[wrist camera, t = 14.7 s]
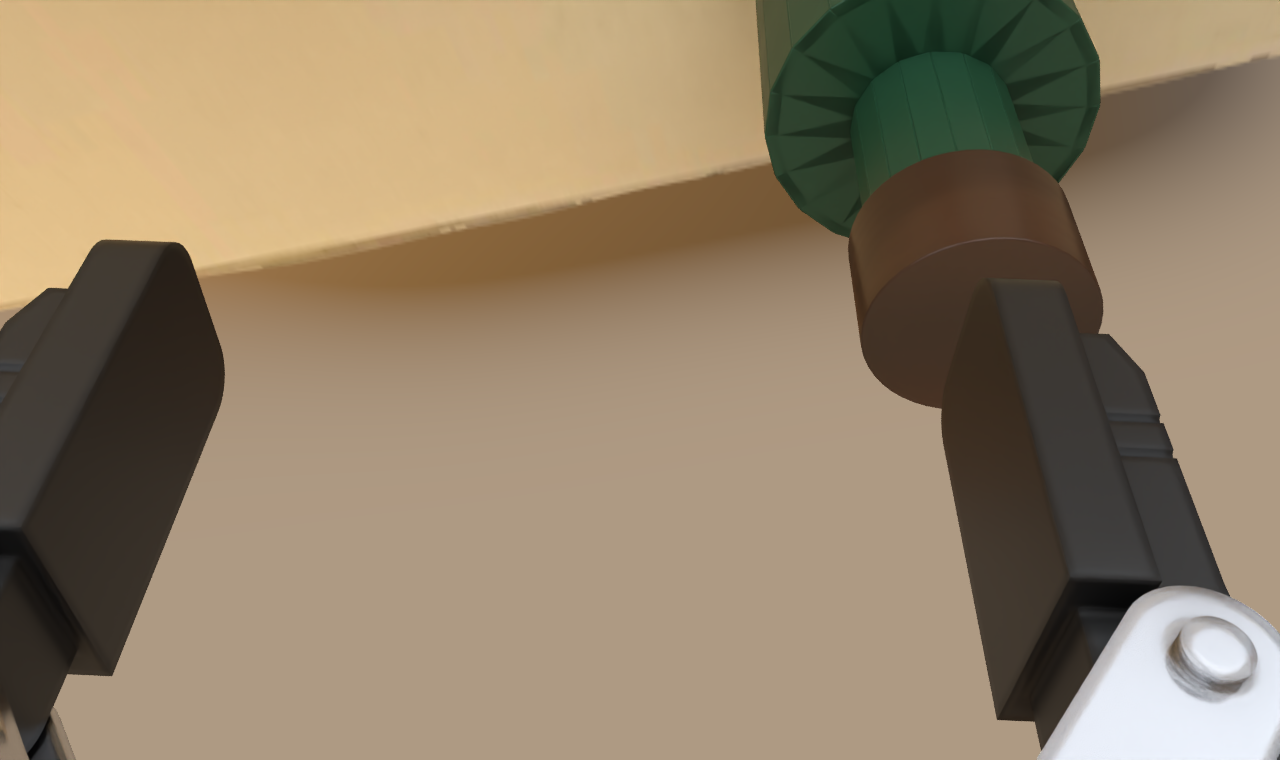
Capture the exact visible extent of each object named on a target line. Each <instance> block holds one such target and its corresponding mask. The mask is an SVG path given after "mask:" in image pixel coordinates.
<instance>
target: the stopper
mask: <svg viewBox="0 0 1280 760" xmlns="http://www.w3.org/2000/svg"><path fill="white" fill-rule="evenodd" d="M848 252H849V263H850V269H851V277H852V284H853V292H854V299H855V306H856V312H857V320H858V326H859V334H860V342H861V348H862V352H863V356H864V359H865V361H866V363H867V365H868V367H869V369H870V370H871V371H872V373H873V374H874V376H875V377H876V378H877V379H878V380H879V381H880V382H881V383H882V384H883V385H884V386H886V387H887V388H888V389H889V390H891V391H892V392H894V393H896V394H897V395H899V396H901V397H903V398H906V399H908V400H910V401H912V402H915V403H919V404H922V405H925V406H930V407H935V408H941V409H942V400H943V392H944V387H945V383H946V379H947V376H948V372H949V369H950V366H951V363H952V359H953V356H954V353H955V350H956V346H957V343H958V340H959V337H960V333H961V330H962V327H963V324H964V321H965V317H966V314H967V311H968V308H969V304H970V301H971V298H972V295H973V292H974V289H975V287H976V285H977V283H978V282H979V280H981V279H982V278H1003V279H1027V280H1052V281H1058V282H1059V283H1061V284H1062V286H1063V287H1064V289H1065V292H1066V294H1067V297H1068V300H1069V303H1070V306H1071V309H1072V312H1073V315H1074V318H1075V321H1076V324H1077V327H1078V330H1079V333H1091V334H1098V332H1099V329H1100V326H1101V323H1102V316H1103V299H1102V295H1101V290H1100V287H1099V285H1098V282H1097V279H1096V277H1095V274H1094V271H1093V269H1092V266H1091V263H1090V260H1089V258H1088V255H1087V252H1086V249H1085V247H1084V244H1083V241H1082V238H1081V236H1080V233H1079V230H1078V227H1077V225H1076V222H1075V220H1074V217H1073V214H1072V211H1071V208H1070V206H1069V203H1068V200H1067V198H1066V196H1065V194H1064V192H1063V190H1062V188H1061V187H1060V186H1059V184H1058V183H1057V181H1056V180H1055V179H1054V178H1053V177H1052V176H1051V175H1050V174H1049V173H1048V172H1047V171H1045V170H1044V169H1043V168H1041V167H1040V166H1038V165H1037V164H1035V163H1033V162H1031V161H1029V160H1027V159H1025V158H1022V157H1020V156H1017V155H1014V154H1010V153H1006V152H1001V151H995V150H985V149H975V150H961V151H952V152H948V153H944V154H939V155H936V156H933V157H930V158H927V159H924V160H921V161H919V162H917V163H915V164H912V165H910V166H908V167H906V168H905V169H903V170H901V171H900V172H898V173H896V174H895V175H893V176H892V177H891V178H889V179H888V180H887V181H885V182H884V183H883V184H882V185H881V186H880V187H879V188H877V189H876V190H875V191H874V192H873V193H872V195H871V196H870V197H869V198H868V199H867V201H866V202H865V203H864V205H863V206H862V208H861V209H860V211H859V213H858V214H857V216H856V219H855V221H854V223H853V225H852V229H851V233H850V236H849V245H848Z"/></svg>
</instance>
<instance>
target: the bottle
mask: <svg viewBox="0 0 1280 760" xmlns="http://www.w3.org/2000/svg"><path fill="white" fill-rule="evenodd" d="M756 13H757V27H758V42H759V57H760V72H761V87H762V102H763V117H764V132H765V140H766V143H767V147H768V151H769V155H770V159H771V162H772V166H773V170H774V174H775V176H776V178H777V179H778V181H779V182H780V183H781V185H782V186H783V188H784V189H785V190H786V192H787V193H788V195H789V196H790V197H791V199H792V200H793V201H794V203H795V204H796V205H797V207H798V208H799V209H800V210H801V211H802V212H804V213H805V214H807V215H809V216H810V217H811V218H813V219H814V220H816V221H817V222H819V223H820V224H821V225H823V226H825V227H826V228H827V229H829V230H830V231H832V232H834V233H835V234H838V235H842V236H845V237H848V238H849V236H850V233H851V229H852V225H853V223H854V221H855V219H856V216H857V214H858V213H859V211H860V209H861V208H862V206H863V205H864V203H865V202H866V201H867V199H868V198H869V197H870V196H871V195H872V193H873V192H874V191H875V190H876V189H877V188H879V187H880V186H881V185H882V184H883V183H884V182H885V181H887V180H888V179H889V178H891V177H892V176H893V175H895V174H896V173H898V172H900V171H901V170H903V169H905V168H906V167H908V166H910V165H912V164H915V163H917V162H919V161H921V160H924V159H927V158H930V157H933V156H936V155H939V154H944V153H948V152H952V151H961V150H975V149H985V150H995V151H1001V152H1006V153H1010V154H1014V155H1017V156H1020V157H1022V158H1025V159H1027V160H1029V161H1031V162H1033V163H1035V164H1037V165H1038V166H1040V167H1041V168H1043V169H1044V170H1045V171H1047V172H1048V173H1049V174H1050V175H1051V176H1052V177H1053V178H1054V179H1055V180H1056V181H1057V183H1059V182H1060V181H1061V179H1062V178H1063V177H1064V175H1065V174H1066V173H1067V171H1068V170H1069V169H1070V168H1071V166H1072V165H1073V164H1074V162H1075V161H1076V160H1077V158H1078V157H1079V156H1080V154H1081V153H1082V152H1083V150H1084V148H1085V146H1086V143H1087V141H1088V138H1089V135H1090V132H1091V129H1092V127H1093V124H1094V121H1095V118H1096V116H1097V113H1098V110H1099V107H1100V60H1099V56H1098V54H1097V52H1096V49H1095V47H1094V45H1093V43H1092V41H1091V38H1090V36H1089V34H1088V32H1087V30H1086V27H1085V25H1084V23H1083V21H1082V18H1081V16H1080V14H1079V12H1078V10H1077V8H1076V6H1075V3H1074V1H1073V0H756Z"/></svg>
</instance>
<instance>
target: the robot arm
mask: <svg viewBox="0 0 1280 760" xmlns="http://www.w3.org/2000/svg"><path fill="white" fill-rule="evenodd" d="M224 371H225V370H224V359H223V353H222V349H221V346H220V343H219V340H218V337H217V334H216V331H215V328H214V325H213V322H212V319H211V316H210V313H209V311H208V308H207V305H206V302H205V299H204V296H203V293H202V290H201V287H200V284H199V281H198V278H197V275H196V272H195V269H194V266H193V263H192V260H191V258H190V256H189V254H188V252H187V250H186V249H185V248H184V246H183V245H181V244H180V243H176V242H154V241H130V240H101V241H99V242H97V243H96V244H95V245H94V246H93V248H92V249H91V251H90V252H89V254H88V255H87V257H86V259H85V261H84V262H83V264H82V266H81V267H80V269H79V271H78V273H77V274H76V276H75V278H74V279H73V281H72V283H71V285H70V286H69V288H68V289H62V288H47V289H46V290H45V291H44V292H43V293H41V294H40V295H39V296H38V297H36V298H35V299H34V300H33V301H31V302H30V303H29V304H28V305H26V306H25V307H24V308H23V309H22V310H20V311H19V312H18V313H17V314H15V315H14V316H13V317H12V318H10V319H9V320H8V321H7V322H6V323H5V324H4V326H3V328H2V329H1V331H0V760H76V759H75V756H74V753H73V751H72V748H71V745H70V743H69V740H68V737H67V735H66V732H65V730H64V727H63V725H62V722H61V719H60V717H59V715H58V713H57V711H56V710H55V708H54V707H53V706H54V703H55V701H56V699H57V696H58V694H59V692H60V689H61V687H62V685H63V683H64V680H65V678H66V675H67V674H78V675H98V676H99V675H100V676H112V675H113V672H114V670H115V667H116V665H117V662H118V660H119V657H120V655H121V652H122V650H123V647H124V645H125V642H126V640H127V637H128V635H129V632H130V630H131V627H132V625H133V623H134V620H135V617H136V615H137V612H138V610H139V607H140V605H141V603H142V600H143V597H144V595H145V593H146V590H147V587H148V585H149V582H150V580H151V578H152V575H153V573H154V570H155V568H156V565H157V562H158V560H159V558H160V555H161V553H162V550H163V548H164V545H165V543H166V540H167V538H168V535H169V533H170V530H171V528H172V525H173V523H174V520H175V518H176V515H177V513H178V510H179V508H180V505H181V503H182V500H183V498H184V495H185V493H186V490H187V488H188V485H189V483H190V480H191V478H192V476H193V473H194V470H195V468H196V465H197V463H198V460H199V458H200V456H201V453H202V451H203V448H204V446H205V443H206V441H207V438H208V436H209V433H210V431H211V428H212V426H213V423H214V421H215V418H216V416H217V413H218V411H219V407H220V405H221V401H222V396H223V391H224V378H225V377H224V376H225V372H224ZM941 415H942V416H941V417H942V418H941V419H942V420H941V422H942V423H941V424H942V437H943V444H944V450H945V455H946V460H947V465H948V470H949V475H950V480H951V486H952V490H953V496H954V501H955V506H956V511H957V516H958V522H959V527H960V532H961V537H962V542H963V547H964V552H965V558H966V562H967V568H968V573H969V578H970V583H971V588H972V593H973V598H974V604H975V609H976V614H977V619H978V624H979V629H980V635H981V639H982V645H983V650H984V655H985V660H986V665H987V671H988V676H989V681H990V686H991V691H992V696H993V701H994V707H995V712H996V717H997V720H1012V721H1033V722H1035V724H1036V729H1037V734H1038V738H1039V743H1040V747H1041V753H1040V755H1039V756H1038V758H1037V759H1036V760H1280V634H1279V632H1278V631H1277V630H1276V629H1275V628H1274V627H1273V626H1272V625H1271V624H1270V623H1269V622H1268V621H1267V620H1265V619H1264V618H1263V617H1262V616H1260V615H1259V614H1258V613H1257V612H1255V611H1254V610H1252V609H1251V608H1249V607H1248V606H1246V605H1244V604H1243V603H1241V602H1239V601H1237V600H1235V599H1233V598H1231V597H1230V595H1229V593H1228V591H1227V589H1226V587H1225V584H1224V582H1223V579H1222V577H1221V574H1220V571H1219V569H1218V566H1217V564H1216V561H1215V558H1214V556H1213V553H1212V550H1211V548H1210V545H1209V542H1208V540H1207V537H1206V534H1205V532H1204V529H1203V526H1202V524H1201V521H1200V519H1199V516H1198V513H1197V511H1196V508H1195V505H1194V503H1193V500H1192V497H1191V495H1190V492H1189V490H1188V487H1187V484H1186V482H1185V479H1184V476H1183V474H1182V471H1181V469H1180V466H1179V464H1178V461H1177V459H1175V458H1173V455H1172V454H1173V447H1172V445H1171V442H1170V439H1169V437H1168V434H1167V431H1166V429H1165V426H1164V424H1163V423H1160V421H1159V418H1160V413H1159V410H1158V408H1157V405H1156V402H1155V400H1154V397H1153V394H1152V392H1151V389H1150V386H1149V384H1148V381H1147V379H1146V376H1145V373H1144V372H1143V371H1142V370H1141V368H1140V367H1139V366H1138V365H1137V364H1136V363H1135V362H1134V361H1133V360H1132V359H1131V358H1130V357H1129V355H1128V354H1127V353H1126V352H1125V351H1124V350H1123V349H1122V348H1121V347H1120V346H1119V345H1118V344H1117V342H1116V341H1115V340H1114V339H1113V338H1112V337H1111V336H1110V335H1109V334H1091V333H1079V330H1078V327H1077V324H1076V321H1075V318H1074V315H1073V312H1072V309H1071V306H1070V303H1069V300H1068V297H1067V294H1066V292H1065V289H1064V287H1063V286H1062V284H1061V283H1059V282H1058V281H1052V280H1027V279H1003V278H982V279H981V280H979V282H978V283H977V285H976V287H975V289H974V292H973V295H972V298H971V301H970V304H969V308H968V311H967V314H966V317H965V321H964V324H963V327H962V330H961V333H960V337H959V340H958V343H957V346H956V350H955V353H954V356H953V359H952V363H951V366H950V369H949V372H948V376H947V379H946V383H945V387H944V392H943V400H942V414H941Z"/></svg>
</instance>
